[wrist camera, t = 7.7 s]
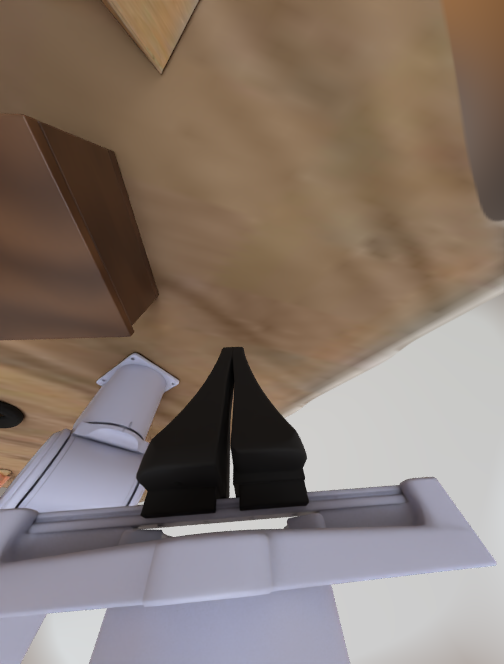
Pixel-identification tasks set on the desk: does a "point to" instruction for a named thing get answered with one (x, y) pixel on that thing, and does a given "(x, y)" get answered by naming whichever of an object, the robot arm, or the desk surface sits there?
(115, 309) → the lid
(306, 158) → the desk surface
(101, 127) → the desk surface
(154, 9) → the sandwich container
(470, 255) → the desk surface
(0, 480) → the grandmother figurine
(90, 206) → the walnut box
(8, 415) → the webcam
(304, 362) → the desk surface
